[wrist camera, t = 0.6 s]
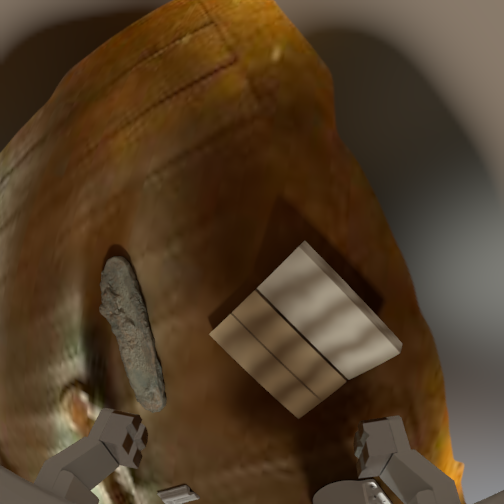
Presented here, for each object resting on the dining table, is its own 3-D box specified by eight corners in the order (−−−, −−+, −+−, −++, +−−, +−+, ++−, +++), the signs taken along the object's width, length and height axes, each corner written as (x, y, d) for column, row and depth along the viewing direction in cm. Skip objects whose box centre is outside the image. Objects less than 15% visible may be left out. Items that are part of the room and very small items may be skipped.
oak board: (345, 376, 55) (346, 381, 52) (299, 412, 57) (298, 419, 54) (257, 288, 57) (254, 290, 54) (213, 330, 59) (208, 334, 56)
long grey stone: (142, 404, 65) (180, 403, 64) (133, 415, 60) (172, 416, 58) (99, 260, 63) (136, 251, 61) (85, 263, 57) (124, 253, 56)
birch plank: (402, 343, 47) (400, 353, 45) (352, 370, 54) (348, 379, 52) (304, 240, 49) (298, 246, 47) (263, 281, 56) (256, 288, 55)
